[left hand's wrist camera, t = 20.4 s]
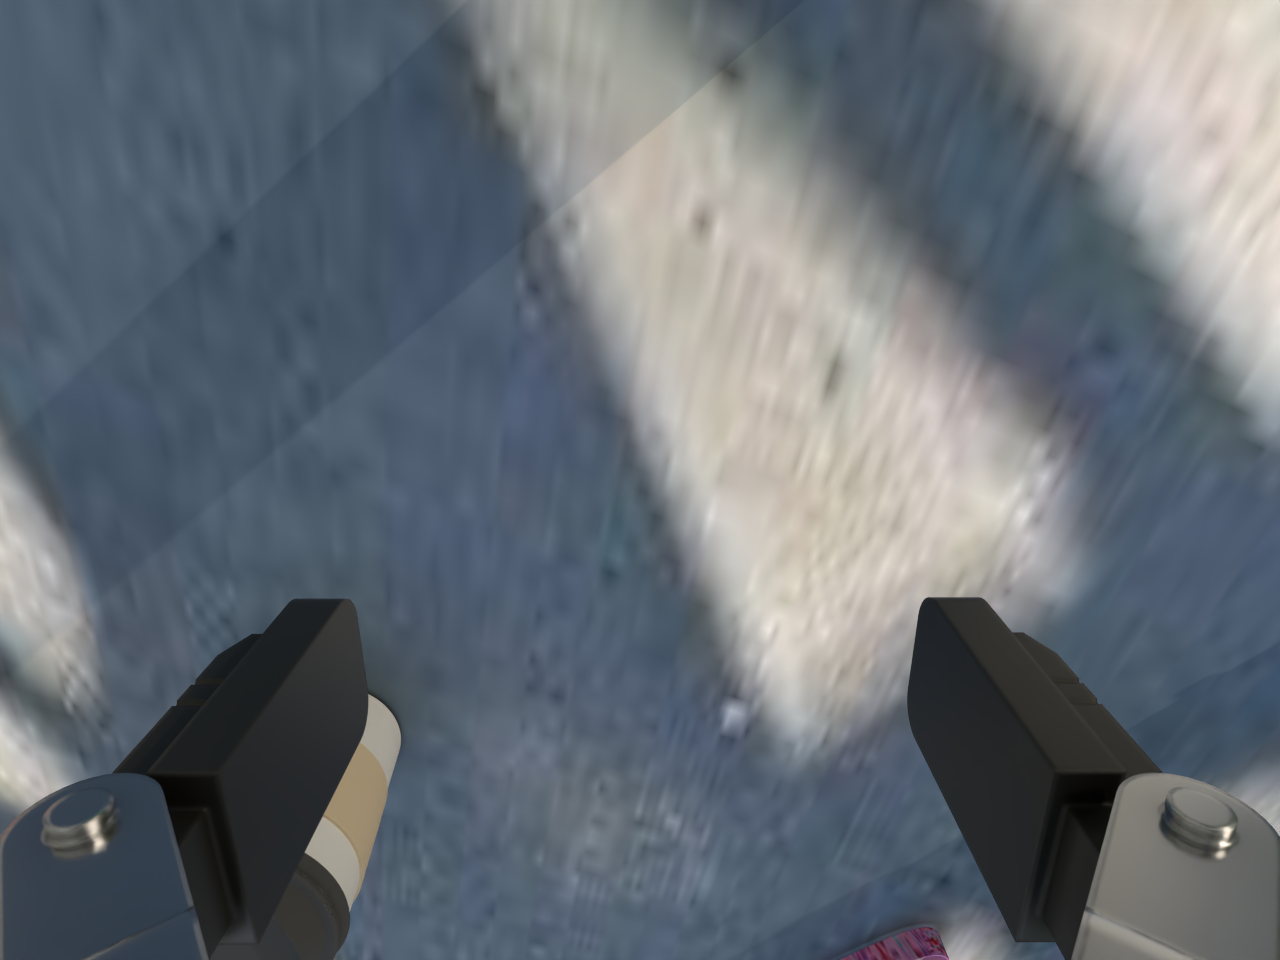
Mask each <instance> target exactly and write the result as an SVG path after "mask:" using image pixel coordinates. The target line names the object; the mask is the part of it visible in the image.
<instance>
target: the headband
mask: <svg viewBox="0 0 1280 960" xmlns="http://www.w3.org/2000/svg"><path fill="white" fill-rule="evenodd" d="M924 957H925V958H924ZM920 958H924V959H923V960H949V958H948V956H947V953H946V951H945V948H944V946H943V943H942V941H941V938H940V936H939V933H938V931H937V930H936V929H934V928H929V927H925V928H918V929H913V930H910V931H906V932H903V933H900V934H898V935H895V936H892V937H890V938H887V939H885V940H882V941H880V942H878V943H875V944H873V945H871V946H869V947H866V948H864V949H862V950H860V951H858V952H855V953H853V954H851V955H849V956H847V957H845V958H843V959H841V960H917V959H920Z"/></svg>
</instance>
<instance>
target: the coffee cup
mask: <svg viewBox="0 0 1280 960" xmlns="http://www.w3.org/2000/svg"><path fill="white" fill-rule="evenodd" d="M368 700H369V702H368V716H367V722H366V727H365V731H364V734H363V737H362V739H361V741H360V743H359V745H358V747H357V749H356V751H355V753H354V755H353V757H352V759H351V761H350V763H349V765H348V767H347V769H346V771H345V773H344V775H343V777H342V779H341V781H340V783H339V785H338V787H337V789H336V791H335V793H334V795H333V797H332V799H331V801H330V803H329V805H328V807H327V809H326V811H325V813H324V815H323V817H322V819H321V821H320V823H319V825H318V827H317V829H316V831H315V833H314V835H313V837H312V839H311V841H310V843H309V845H308V847H307V849H306V851H305V853H304V855H303V857H302V859H301V861H300V863H299V865H298V867H297V869H296V871H295V873H294V875H293V877H292V879H291V881H290V883H289V885H288V887H287V889H286V891H285V893H284V895H283V897H282V899H281V901H280V903H279V905H278V907H277V908H276V910H275V912H274V914H273V916H272V918H271V920H270V922H269V924H268V926H267V928H266V930H265V932H264V934H263V936H262V938H261V940H260V942H259V944H258V945H218V946H217V947H216V949H215V951H214V953H213V955H212V956H211V958H210V960H333V959H334V957H335V955H336V953H337V952H338V950H339V949H340V948H341V946H342V945H343V943H344V941H345V939H346V937H347V934H348V930H349V925H350V910H351V906H352V903H353V902H354V900H355V899H356V897H357V895H358V893H359V891H360V888H361V885H362V882H363V878H364V875H365V872H366V868H367V865H368V861H369V858H370V854H371V851H372V848H373V844H374V841H375V837H376V834H377V831H378V827H379V824H380V820H381V817H382V814H383V810H384V807H385V803H386V800H387V793H388V786H389V783H390V779H391V776H392V773H393V770H394V766H395V763H396V760H397V757H398V753H399V750H400V746H401V734H400V729H399V726H398V723H397V721H396V719H395V718H394V716H393V714H392V713H391V712H390V711H389V709H388V708H387V707H386V706H385V705H384V704H383V703H381V702H380V701H379V700H377V699H376V698H374V697H373V696H371V695H369V694H368Z"/></svg>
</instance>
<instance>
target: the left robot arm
mask: <svg viewBox="0 0 1280 960" xmlns="http://www.w3.org/2000/svg"><path fill="white" fill-rule="evenodd" d="M368 702H369V700H368V688H367V681H366V674H365V667H364V660H363V653H362V646H361V639H360V632H359V625H358V618H357V613H356V609H355V606H354V604H353V603H352V601H351V600H350V599H293V600H292V601H290V602H289V603H288V604H287V606H286V607H285V608H284V609H283V610H282V612H281V613H280V614H279V615H278V616H277V617H276V619H275V620H274V621H273V622H272V623H271V625H270V626H269V627H268V628H267V629H266V631H265V632H264V633H263V634H251V635H250V636H248V637H246V638H245V639H243V640H241V641H240V642H238V643H237V644H235V645H233V646H232V647H230V648H229V649H227V650H225V651H224V652H222V653H221V654H219V655H218V656H217V657H216V658H215V659H214V660H213V661H212V662H211V663H210V664H209V666H208V667H207V668H206V669H205V670H204V671H203V672H202V673H201V675H200V676H199V677H198V678H197V679H196V683H195V685H191V686H190V687H189V688H188V689H187V690H186V691H185V692H184V694H183V695H182V696H181V697H180V698H179V699H178V700H177V705H176V706H172V707H171V708H170V709H169V710H168V711H167V712H166V714H165V715H164V716H163V717H162V718H161V719H160V720H159V721H158V723H157V724H156V725H155V726H154V727H153V728H152V729H151V730H150V731H149V733H148V734H147V735H146V736H145V737H144V738H143V739H142V740H141V742H140V743H139V744H138V745H137V746H136V747H135V748H134V749H133V750H132V752H131V753H130V754H129V755H128V756H127V757H126V758H125V759H124V760H123V762H122V763H121V764H120V765H119V766H118V767H117V768H116V769H115V771H114V772H113V773H112V774H106V775H101V776H97V777H92V778H89V779H86V780H83V781H79V782H77V783H74V784H72V785H69V786H67V787H64V788H62V789H60V790H58V791H56V792H54V793H52V794H50V795H48V796H46V797H45V798H43V799H41V800H40V801H38V802H36V803H35V804H34V805H32V806H31V807H29V808H28V809H26V810H25V811H24V812H23V813H22V814H20V815H19V816H18V817H17V818H16V819H15V820H14V821H13V822H12V823H11V824H10V825H9V826H8V827H7V828H6V829H5V831H4V832H3V834H2V835H1V836H0V960H210V958H211V956H212V955H213V953H214V951H215V949H216V947H217V946H218V945H258V944H259V942H260V940H261V938H262V936H263V934H264V932H265V930H266V928H267V926H268V924H269V922H270V920H271V918H272V916H273V914H274V912H275V910H276V908H277V907H278V905H279V903H280V901H281V899H282V897H283V895H284V893H285V891H286V889H287V887H288V885H289V883H290V881H291V879H292V877H293V875H294V873H295V871H296V869H297V867H298V865H299V863H300V861H301V859H302V857H303V855H304V853H305V851H306V849H307V847H308V845H309V843H310V841H311V839H312V837H313V835H314V833H315V831H316V829H317V827H318V825H319V823H320V821H321V819H322V817H323V815H324V813H325V811H326V809H327V807H328V805H329V803H330V801H331V799H332V797H333V795H334V793H335V791H336V789H337V787H338V785H339V783H340V781H341V779H342V777H343V775H344V773H345V771H346V769H347V767H348V765H349V763H350V761H351V759H352V757H353V755H354V753H355V751H356V749H357V747H358V745H359V743H360V741H361V739H362V737H363V734H364V731H365V727H366V722H367V716H368ZM907 704H908V715H909V721H910V726H911V729H912V733H913V735H914V738H915V740H916V742H917V744H918V746H919V748H920V750H921V752H922V754H923V756H924V758H925V760H926V762H927V764H928V766H929V768H930V770H931V772H932V774H933V776H934V778H935V780H936V782H937V784H938V786H939V788H940V790H941V792H942V794H943V796H944V798H945V800H946V802H947V804H948V806H949V808H950V810H951V812H952V814H953V817H954V819H955V821H956V823H957V825H958V827H959V829H960V831H961V833H962V835H963V837H964V839H965V841H966V843H967V845H968V847H969V849H970V851H971V853H972V855H973V857H974V859H975V861H976V863H977V865H978V867H979V869H980V871H981V873H982V875H983V877H984V879H985V881H986V883H987V885H988V887H989V889H990V891H991V893H992V895H993V897H994V899H995V901H996V903H997V905H998V907H999V909H1000V911H1001V913H1002V915H1003V917H1004V919H1005V921H1006V923H1007V925H1008V927H1009V930H1010V932H1011V934H1012V936H1013V938H1014V940H1015V942H1056V944H1057V945H1058V947H1059V949H1060V951H1061V953H1062V955H1063V956H1064V958H1065V960H1280V836H1279V835H1278V834H1277V832H1276V831H1275V829H1274V828H1273V827H1272V826H1271V825H1270V824H1269V823H1268V822H1267V821H1266V820H1265V819H1264V818H1263V817H1262V816H1261V815H1260V814H1258V813H1257V812H1256V811H1255V810H1254V809H1252V808H1251V807H1249V806H1248V805H1246V804H1245V803H1244V802H1242V801H1240V800H1239V799H1237V798H1235V797H1234V796H1232V795H1230V794H1228V793H1226V792H1224V791H1222V790H1220V789H1218V788H1216V787H1213V786H1211V785H1208V784H1206V783H1203V782H1201V781H1197V780H1194V779H1191V778H1188V777H1183V776H1179V775H1174V774H1166V773H1163V772H1162V771H1161V770H1160V769H1159V768H1158V767H1157V766H1156V765H1155V763H1154V762H1153V761H1152V760H1151V759H1150V758H1149V757H1148V756H1147V754H1146V753H1145V752H1144V751H1143V750H1142V749H1141V748H1140V747H1139V745H1138V744H1137V743H1136V742H1135V741H1134V740H1133V739H1132V738H1131V736H1130V735H1129V734H1128V733H1127V732H1126V731H1125V730H1124V729H1123V727H1122V726H1121V725H1120V724H1119V723H1118V722H1117V721H1116V720H1115V718H1114V717H1113V716H1112V715H1111V714H1110V713H1109V712H1108V711H1107V709H1106V708H1105V707H1104V706H1103V705H1102V704H1098V703H1097V698H1096V697H1095V696H1094V695H1093V694H1092V692H1091V691H1090V690H1089V689H1088V688H1087V687H1086V686H1085V685H1084V683H1079V678H1078V677H1077V676H1076V674H1075V673H1074V672H1073V671H1072V670H1071V669H1070V668H1069V667H1068V665H1067V664H1066V663H1065V662H1064V661H1063V660H1062V659H1061V658H1060V656H1059V655H1058V654H1057V653H1055V652H1054V651H1052V650H1050V649H1049V648H1047V647H1046V646H1044V645H1042V644H1041V643H1039V642H1038V641H1036V640H1034V639H1033V638H1031V637H1030V636H1028V635H1026V634H1025V633H1012V632H1011V630H1010V629H1009V628H1008V627H1007V626H1006V624H1005V623H1004V622H1003V621H1002V620H1001V618H1000V617H999V616H998V615H997V614H996V612H995V611H994V610H993V609H992V608H991V606H990V605H989V604H988V603H987V602H986V601H985V600H984V599H983V598H979V597H928V598H926V599H924V601H923V602H922V604H921V607H920V610H919V615H918V622H917V629H916V636H915V643H914V650H913V657H912V664H911V671H910V679H909V686H908V696H907Z"/></svg>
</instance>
